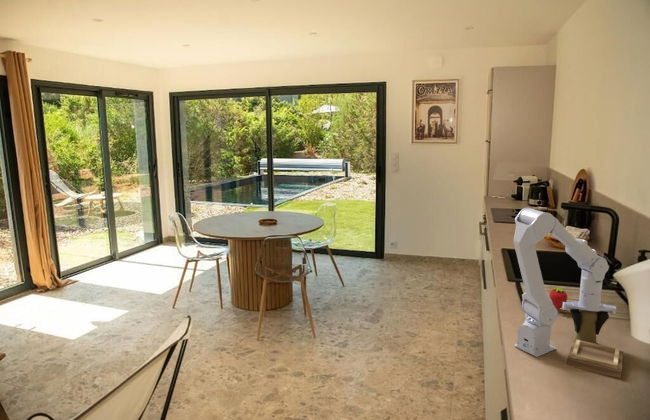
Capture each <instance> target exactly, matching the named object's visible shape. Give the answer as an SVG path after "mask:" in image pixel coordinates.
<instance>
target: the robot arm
mask: <svg viewBox="0 0 650 420" xmlns="http://www.w3.org/2000/svg"><path fill="white" fill-rule="evenodd" d="M514 221H515V231H514V236H513V241H512V242H513V246H514V250H515V253H516V258H517V262H518V266H519V269H520V270H519V272H520V274H521V278H522V282H523V287H524V291H525V292H524V293H522V294H521V297H522V301H521V309H522V311H523V312H524V317H525V319H524V322H523V323H522V324H521V325H519V326H518V330H517V341H516V343H515V344H514V347H515V348H517V349H519V350H522V351H523V352H526V353H528V354H530V355H532V356H534V357H536V358H538V357H540V356H542V355H545V354H547V353H550V352H552V351H555V350H556V349H557V348H556V346H553V345H552V344H551V336H552V335H551V334H552V326H553V324H554V323H556V321H557V319H558V317H559V310H557V309H556V308H555V306H554V305H553V303H552V300H551V299H550V296H549V294H548V293H547V292H546V288H545V283H544V279H543V274H542V271H541V268H540V267H541V266H540V263H539V257H538V254H537V250H536V244H538V243H539V242H540V241H541V240H543V239H544V238H545V237H546V236H548V235H549V234H551V236H553V237H554V238H555V239H556V240H558V241H559V242H561V244H563V246H565V248H564V249H565V252H566V254H567V255H569V256H570V257H571V259H573V260H574V261H576V263H577V266H578V268H580V269H581V275H580V286H579V298H578V301H566V302H563V306H562V307H561V308H562V310H564V311H569V312H570V315H571V317H572V321H573V325H574V331H575V332H576V333H579V328H580V319H581V316H582V315H581V314H580V310H582V311H583V310H587V311H595V312H597V314H598V319H597V320H596V321H595V326H596V336H597V335H598V336H599V334H600V331H601V330H602V328H603V326H604V324H606V322H607V321H608V320H609V317H610V314H611V315H612V314H613V315H616V314H617V307H616V306H614V305H609V304H604V303H601V301H602V300H601V299H602V290H603V280H605V275H606V273H607V272H608V271H609V268H610V265H609V264H608V261H607V259H606V258H605V257H603V256H600V255H598V251H596V250H595V249H593V248H592V247H590V246H589V245H588V243H589V242H588V241H587V240H586V239H583V238H582V239H581V238H575V237H574V236H573V235H572V234H571V233H570V232H569V231H568V230H567V228H565V226H563V225H562V223H561V222H560V221H559V219H558V218H557V217H555V216H554V215H553V214H551V213H550V212H545V211H541V210H537V209H534V208H532V207H524V208H522V209H520V211H519V212H518V213H517V215H516V216H515V218H514ZM576 333H575V334H576Z"/></svg>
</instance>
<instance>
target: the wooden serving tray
mask: <svg viewBox="0 0 650 420" xmlns="http://www.w3.org/2000/svg"><path fill="white" fill-rule="evenodd" d="M623 358H624V351H621V350H620V349H619V348H616V347H612V346H608V345H602V344H599V343H597V344H595V343H590V342H586V341H581V340H576V341H575V339H573V340H572V343H571V346H570V348H569V352H568V355H567V360H566V365H567V366H571V367H574V368H579V369H583V370H586V371H590V372H594V373H598V374H602V375H607V376H609V377H613V376H614V377H613V378H617V377H618V379H620V378H621V377H622V371H623V370H622V369H623V360H624V359H623Z"/></svg>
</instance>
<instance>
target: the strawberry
mask: <svg viewBox="0 0 650 420" xmlns="http://www.w3.org/2000/svg"><path fill="white" fill-rule="evenodd" d="M549 289H550V291H549V294H548V296H549V297H550V299H551V300H552V303H553V305H554V307H555V308H556V309H557V311H559V310H561V308H562V306H563V302H568V301H567V300H568V294H567V292H566V289H565V288H560V286H558V287H557V288H555V287H550V288H549Z"/></svg>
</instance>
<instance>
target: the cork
mask: <svg viewBox="0 0 650 420" xmlns="http://www.w3.org/2000/svg"><path fill="white" fill-rule="evenodd" d="M579 311H580V314H581V315H582V316H581V319H580V328H579V333H575V338H574V341H576V340H581V341H586V342H590V343H595V344H598V343H597V335H596V326H595V321H596V320H597V319H598V314H597V312H595V311H587V310H583V311H582V310H579Z"/></svg>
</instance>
